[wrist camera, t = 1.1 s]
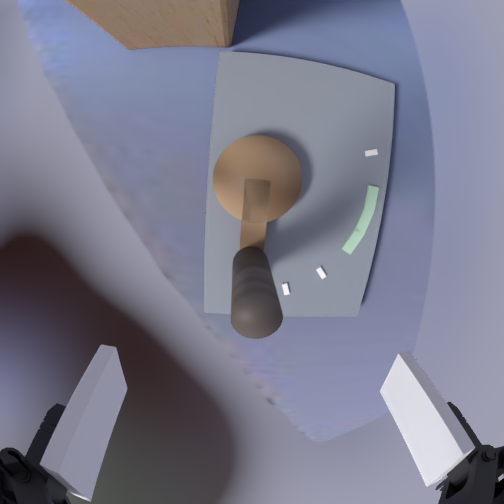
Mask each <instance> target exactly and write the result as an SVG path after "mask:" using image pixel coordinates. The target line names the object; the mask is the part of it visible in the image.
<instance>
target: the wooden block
mask: <svg viewBox="0 0 504 504" xmlns="http://www.w3.org/2000/svg"><path fill="white" fill-rule="evenodd" d="M65 1H66V2H68V3H69V4H70V5H72V6H73V7H74V8H76V9H77V10H78V11H80V12H81V13H82V14H84V15H85V16H86V17H88V18H89V19H90V20H92V21H93V22H94V23H95V24H97V25H98V26H99V27H100V28H102V29H103V30H104V31H105V32H107V33H108V34H109V35H110V36H112V37H113V38H114V39H115V40H116V41H118V42H119V43H120V44H121V45H122V46H124V47H125V48H126V49H129V50H132V49H142V48H154V47H175V46H206V47H229V46H230V45H231V43H232V38H233V33H234V27H235V22H236V17H237V11H238V6H239V1H240V0H65Z"/></svg>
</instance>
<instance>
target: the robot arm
mask: <svg viewBox="0 0 504 504" xmlns="http://www.w3.org/2000/svg"><path fill="white" fill-rule="evenodd" d="M126 391H127V385H126V382H125V379H124V376H123V372H122V368H121V365H120V361H119V357H118V353H117V349H116V347H111V346H106V345H101V346H100V347H99V349H98V351H97V352H96V354H95V356H94V358H93V359H92V361H91V363H90V364H89V366H88V368H87V370H86V372H85V373H84V375H83V377H82V379H81V380H80V382H79V384H78V386H77V388H76V390H75V391H74V393H73V395H72V397H71V399H70V401H69V403H68V405H67V407H66V406H63V405H60V404H56V405H54V406H53V407H52V408H51V409H50V410H49V411H48V412H47V414H46V416H45V418H44V421H43V422H42V423H41V425H40V429H39V430H38V431H37V433H36V435H35V438H34V439H33V441H32V443H31V445H30V448H29V450H28V452H27V454H26V456H25V457H24V456H23V455H22V454H21V453H20V452H19V451H18V450H16V449H14V448H5V449H2V450H1V451H0V504H71V503H70V501H69V499H68V497H67V496H66V492H67V490H68V491H70V492H71V493H72V494H74V495H76V496H78V497H81V498H83V499H86V500H88V501H91V498H92V494H93V491H94V487H95V484H96V480H97V477H98V473H99V470H100V467H101V463H102V460H103V457H104V454H105V451H106V448H107V445H108V442H109V439H110V436H111V433H112V430H113V427H114V424H115V421H116V418H117V415H118V413H119V410H120V407H121V404H122V402H123V399H124V396H125V394H126ZM380 393H381V394H382V396H383V398H384V400H385V402H386V404H387V406H388V408H389V410H390V412H391V414H392V415H393V418H394V419H395V421H396V424H397V426H398V427H399V429H400V431H401V433H402V436H403V438H404V440H405V442H406V444H407V446H408V447H409V450H410V452H411V454H412V456H413V458H414V460H415V463H416V465H417V467H418V469H419V471H420V473H421V476H422V478H423V480H424V482H425V484H426V486H429V485H431V484H433V483H435V482H437V481H439V480H440V479H441V478H443V477H444V476H445V475H446V474H447V476H448V477H447V478H446V479H445V480H444V481H443V482H441V483H440V484H439V485H438V486H437V488H436V490H438V489H439V488H440V487H442V486H443V485H444V486H443V487H442V488H441V489H440V491H442V494H441V497H440V500H439V503H438V504H504V478H503V479H502V480H501V481H498V477H499V476H501V475H502V474H503V473H504V446H502V447H499V448H494V447H493V446H491V445H482V444H481V443H480V441H479V440H478V439H477V437H476V435H475V433H474V432H473V430H472V429H471V427H470V426H469V424H468V423H466V420H465V418H464V417H462V414H461V412H460V411H459V409H458V408H457V407H456V406H454V405H453V404H452V403H451V402H448V403H446V401H445V400H444V398H443V397H442V395H441V394H440V393H439V391H438V390H437V389H436V387H435V385H434V384H433V382H432V381H431V380H430V378H429V377H428V375H427V374H426V373H425V372H424V370H423V369H422V367H421V366H420V365H419V363H418V362H417V360H416V359H415V358H414V356H413V355H412V354H411V352H404V353H398V355H397V357H396V360H395V362H394V364H393V366H392V368H391V370H390V372H389V374H388V376H387V378H386V380H385V382H384V384H383V386H382V388H381V390H380Z"/></svg>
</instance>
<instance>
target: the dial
mask: <svg viewBox="0 0 504 504" xmlns="http://www.w3.org/2000/svg"><path fill="white" fill-rule="evenodd" d="M301 187H302V171H301V167H300V164H299V161H298V159H297V157H296V156H295V154H294V153H293V151H292V150H291V149H290V148H289V147H288V146H286V145H285V144H284V143H282V142H281V141H279V140H277V139H275V138H272V137H269V136H263V135H252V136H247V137H243V138H241V139H238V140H236V141H234V142H233V143H231V144H230V145H229V146H228V147H227V148H225V149H224V151H223V152H222V153H221V154H220V156H219V158H218V159H217V162H216V164H215V167H214V171H213V188H214V191H215V195H216V197H217V199H218V201H219V202H220V204H221V205H222V207H223V208H224V209H225V210H226V211H227V212H228V213H230V214H231V215H232V216H234V217H236V218H237V219H240V220H241V233H240V246H239V251H238V252H237V253H236V254H235V256H234V258H233V266H232V293H231V323H232V326H233V328H234V329H235V330H236V331H237V332H238V333H239V334H241V335H242V336H245V337H247V338H253V339H258V338H264V337H267V336H269V335H271V334H273V333H274V332H275V331H276V330H277V329H278V328H279V327H280V325H281V323H282V320H283V313H282V309H281V305H280V301H279V298H278V294H277V290H276V287H275V283H274V279H273V276H272V272H271V269H270V265H269V261H268V258H267V256H266V254H265V253H264V244H265V234H266V224H267V222H269V221H272V220H275V219H277V218H279V217H281V216H282V215H284V214H285V213H286V212H288V211H289V210H290V209H291V208H292V206H293V205H294V204H295V202H296V201H297V199H298V197H299V194H300V191H301Z"/></svg>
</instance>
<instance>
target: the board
mask: <svg viewBox="0 0 504 504" xmlns="http://www.w3.org/2000/svg"><path fill="white" fill-rule="evenodd" d="M394 97H395V84H393V83H390V82H387V81H384V80H381V79H378V78H375V77H372V76H369V75H366V74H362V73H359V72H355V71H352V70H348V69H344V68H340V67H336V66H332V65H327V64H323V63H318V62H313V61H308V60H302V59H297V58H290V57H283V56H276V55H268V54H258V53H246V52H229V51H220V54H219V61H218V70H217V78H216V87H215V97H214V107H213V117H212V129H211V141H210V154H209V168H208V185H207V203H206V226H205V259H204V313H219V314H231V293H232V266H233V258H234V256H235V254H236V253H237V252H238V251H239V246H240V233H241V220H240V219H237V218H236V217H234V216H232V215H231V214H230V213H228V212H227V211H226V210H225V209H224V208H223V207H222V205H221V204H220V202H219V201H218V199H217V197H216V195H215V191H214V188H213V171H214V167H215V164H216V162H217V159H218V158H219V156H220V154H221V153H222V152H223V151H224V149H225V148H227V147H228V146H229V145H230V144H231V143H233V142H234V141H236V140H238V139H241V138H243V137H247V136H252V135H263V136H269V137H272V138H275V139H277V140H279V141H281V142H282V143H284V144H285V145H286V146H288V147H289V148H290V149H291V150H292V151H293V153H294V154H295V156H296V157H297V159H298V161H299V164H300V167H301V171H302V187H301V191H300V194H299V197H298V199H297V201H296V202H295V204H294V205H293V206H292V208H291V209H290V210H289V211H288V212H286V213H285V214H284V215H282V216H281V217H279V218H277V219H275V220H272V221H269V222H267V224H266V234H265V244H264V253H265V254H266V256H267V258H268V261H269V265H270V269H271V272H272V276H273V279H274V283H275V287H276V290H277V294H278V298H279V301H280V305H281V309H282V313H283V316H297V317H344V316H357V315H358V312H359V309H360V305H361V302H362V298H363V295H364V291H365V287H366V284H367V280H368V276H369V272H370V268H371V264H372V260H373V256H374V251H375V247H376V242H377V237H378V232H379V227H380V222H381V217H382V211H383V206H384V200H385V193H386V187H387V180H388V172H389V164H390V155H391V145H392V134H393V119H394Z"/></svg>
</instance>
